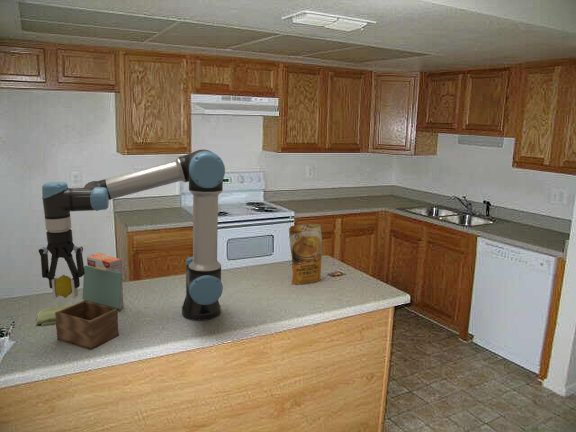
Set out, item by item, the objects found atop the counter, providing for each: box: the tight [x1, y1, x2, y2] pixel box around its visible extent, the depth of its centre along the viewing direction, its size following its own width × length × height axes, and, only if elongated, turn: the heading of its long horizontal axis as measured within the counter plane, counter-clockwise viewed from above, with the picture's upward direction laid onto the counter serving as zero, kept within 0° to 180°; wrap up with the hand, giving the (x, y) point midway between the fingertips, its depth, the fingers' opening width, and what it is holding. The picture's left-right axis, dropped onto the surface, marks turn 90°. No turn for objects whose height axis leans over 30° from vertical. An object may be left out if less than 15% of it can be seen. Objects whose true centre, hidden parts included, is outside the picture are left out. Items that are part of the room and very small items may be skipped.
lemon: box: [55, 274, 72, 299], centre depth 157 cm, size 6×6×8 cm
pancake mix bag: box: [288, 222, 323, 286], centre depth 222 cm, size 7×19×28 cm, turn 118°
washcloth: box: [36, 302, 78, 327], centre depth 179 cm, size 13×18×3 cm
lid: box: [82, 265, 123, 308], centre depth 165 cm, size 17×13×2 cm
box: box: [55, 300, 122, 351], centre depth 162 cm, size 17×13×10 cm
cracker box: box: [86, 252, 124, 310], centre depth 187 cm, size 14×6×21 cm, turn 58°
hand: (65, 296), depth 157 cm, fingers closed on lemon, 5 cm apart
